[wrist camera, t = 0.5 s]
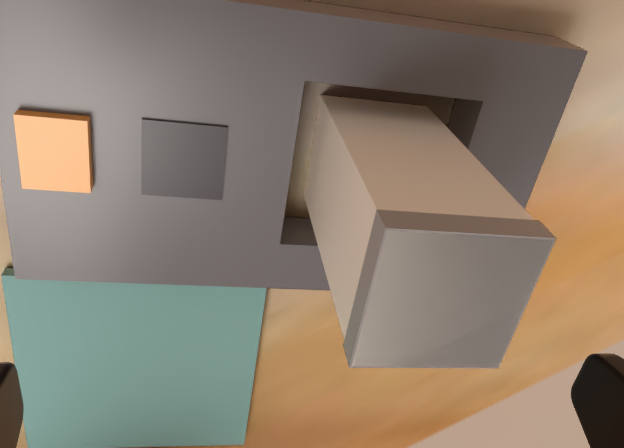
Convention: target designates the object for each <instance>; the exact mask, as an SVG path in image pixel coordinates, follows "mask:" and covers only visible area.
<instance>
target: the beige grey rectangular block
mask: <svg viewBox="0 0 624 448" xmlns="http://www.w3.org/2000/svg"><path fill="white" fill-rule="evenodd" d="M304 198H305V201H306V205H307V208H308V212H309V216H310V219H311V223H312V226H313V230H314V234H315V237H316V241H317V244H318V248H319V251H320V255H321V259H322V262H323V266H324V269H325V273H326V276H327V280H328V284H329V287H330V291H331V294H332V298H333V301H334V305H335V309H336V312H337V316H338V319H339V323H340V326H341V330H342V334H343V337H344V343H343V346H344V350H345V354H346V357H347V361H348V365H349V368H499V366H500V364H501V361H502V359H503V357H504V355H505V352H506V350H507V348H508V346H509V343H510V341H511V339H512V337H513V335H514V332H515V330H516V328H517V326H518V323H519V321H520V319H521V317H522V314H523V312H524V310H525V308H526V305H527V303H528V301H529V299H530V296H531V294H532V292H533V290H534V287H535V285H536V283H537V281H538V278H539V276H540V274H541V272H542V270H543V267H544V265H545V263H546V261H547V258H548V256H549V254H550V252H551V249H552V247H553V245H554V243H555V240H556V237H555V236H554V235H553V234H552V233H551V232H550V231H549V230H548V229H547V228H546V227H545V226H544V225H543V224H542V223H541V222H540V221H539V220H534V219H533V218H532V217H531V216H530V215H529V213H528V212H527V211H526V210H525V209H524V208H523V207H522V206H521V205H520V204H519V203H518V202H517V201H516V200H515V199H514V198H513V197H512V195H511V194H510V193H509V192H508V191H507V190H506V189H505V188H504V187H503V186H502V185H501V184H500V183H499V182H498V181H497V180H496V179H495V177H494V176H493V175H492V174H491V173H490V172H489V171H488V170H487V169H486V168H485V167H484V166H483V165H482V164H481V163H480V162H479V161H478V160H477V158H476V157H475V156H474V155H473V154H472V153H471V152H470V151H469V150H468V149H467V148H466V147H465V146H464V145H463V144H462V143H461V142H460V140H459V139H458V138H457V137H456V136H455V135H454V134H453V133H452V132H451V131H450V130H449V129H448V128H447V127H446V126H445V125H444V124H443V122H442V121H441V120H440V119H439V118H438V117H437V116H436V115H435V114H434V113H433V112H432V111H431V110H430V109H429V108H428V107H427V106H419V105H410V104H401V103H392V102H382V101H373V100H364V99H355V98H346V97H337V96H328V95H321V96H320V101H319V107H318V113H317V119H316V125H315V131H314V137H313V143H312V149H311V155H310V161H309V167H308V173H307V179H306V185H305V191H304Z"/></svg>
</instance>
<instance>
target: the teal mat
mask: <svg viewBox="0 0 624 448" xmlns="http://www.w3.org/2000/svg"><path fill="white" fill-rule="evenodd" d="M1 277H2V283H3V290H4V296H5V303H6V309H7V316H8V322H9V329H10V335H11V342H12V349H13V355H14V362H15V367H16V369H17V372H18V377H19V382H20V388H21V393H22V398H23V404H24V412H23V420H24V427H25V433H26V440H27V446H28V448H123V447H168V446H213V445H244V443H245V436H246V429H247V422H248V415H249V408H250V401H251V394H252V387H253V380H254V373H255V366H256V359H257V352H258V345H259V339H260V332H261V325H262V318H263V311H264V304H265V297H266V290H267V288H249V287H221V286H193V285H165V284H137V283H109V282H80V281H52V280H24V279H15V275H14V268H5V270H4V272H3V273H2V275H1Z"/></svg>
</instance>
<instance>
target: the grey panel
mask: <svg viewBox="0 0 624 448" xmlns="http://www.w3.org/2000/svg"><path fill="white" fill-rule="evenodd" d="M587 52H588V51H586V50H584V49H582V48H580V47H577V46H575V45H573V44H571V43H568V42H566V41H564V40H562V39H560V38H557V37H554V36H547V35H540V34H533V33H526V32H519V31H513V30H506V29H499V28H492V27H485V26H478V25H471V24H464V23H457V22H450V21H443V20H436V19H429V18H422V17H415V16H408V15H402V14H395V13H388V12H381V11H374V10H367V9H360V8H353V7H346V6H339V5H332V4H325V3H318V2H311V1H304V0H0V174H1V181H2V188H3V196H4V203H5V210H6V217H7V224H8V232H9V239H10V246H11V253H12V261H13V268H14V275H15V279H24V280H52V281H80V282H109V283H137V284H165V285H193V286H221V287H249V288H278V289H306V290H330V287H329V284H328V280H327V276H326V273H325V269H324V266H323V262H322V259H321V255H320V251H319V248H318V244H317V241H316V237H315V234H314V230H313V226H312V223H311V219H310V218H296V217H284V214H285V208H286V201H287V194H288V188H289V181H290V175H291V168H292V161H293V155H294V148H295V142H296V135H297V128H298V122H299V115H300V108H301V102H302V95H303V89H304V82H305V81H309V82H318V83H327V84H336V85H345V86H353V87H362V88H371V89H380V90H388V91H397V92H406V93H415V94H424V95H432V96H441V97H450V98H456V101H455V104H454V108H453V111H452V114H451V118H450V121H449V125H448V129H449V130H450V131H451V132H452V133H453V134H454V135H455V136H456V137H457V138H458V139H459V140H460V142H461V143H462V144H463V145H464V146H465V147H466V148H467V149H468V150H469V151H470V152H471V153H472V154H473V155H474V156H475V157H476V158H477V160H478V161H479V162H480V163H481V164H482V165H483V166H484V167H485V168H486V169H487V170H488V171H489V172H490V173H491V174H492V175H493V176H494V177H495V179H496V180H497V181H498V182H499V183H500V184H501V185H502V186H503V187H504V188H505V189H506V190H507V191H508V192H509V193H510V194H511V195H512V197H513V198H514V199H515V200H516V201H517V202H518V203H519V204H520V205H521V206H522V207H523V208H524V209H525V207H526V204H527V202H528V199H529V197H530V194H531V192H532V189H533V187H534V184H535V182H536V179H537V177H538V174H539V172H540V169H541V167H542V164H543V162H544V159H545V157H546V154H547V152H548V149H549V147H550V144H551V142H552V139H553V137H554V134H555V132H556V129H557V127H558V124H559V122H560V119H561V117H562V114H563V112H564V109H565V107H566V104H567V102H568V99H569V97H570V94H571V92H572V89H573V87H574V84H575V82H576V79H577V77H578V74H579V72H580V69H581V67H582V64H583V62H584V59H585V57H586V54H587Z"/></svg>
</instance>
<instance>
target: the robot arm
mask: <svg viewBox="0 0 624 448" xmlns="http://www.w3.org/2000/svg"><path fill="white" fill-rule="evenodd" d="M571 399H572V403H573V405H574V408H575V410H576V413H577V415H578V418H579V420H580V423H581V425H582V428H583V430H584V433H585V435H586V438H587V440H588V443H589V445H590V448H624V359H623V358H621V357H620V356H617V355H615V354H591V355H590V356H588V357H587V358H586V360H585V362H584V364H583V366H582V368H581V370H580V372H579V374H578V376H577V378H576V380H575V382H574V384H573V386H572V389H571ZM23 412H24V404H23V398H22V393H21V388H20V382H19V377H18V372H17V369H16V367H15V365H14V364H12V363H9V362H4V363H0V448H16V446H17V442H18V437H19V433H20V429H21V424H22V420H23Z"/></svg>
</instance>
